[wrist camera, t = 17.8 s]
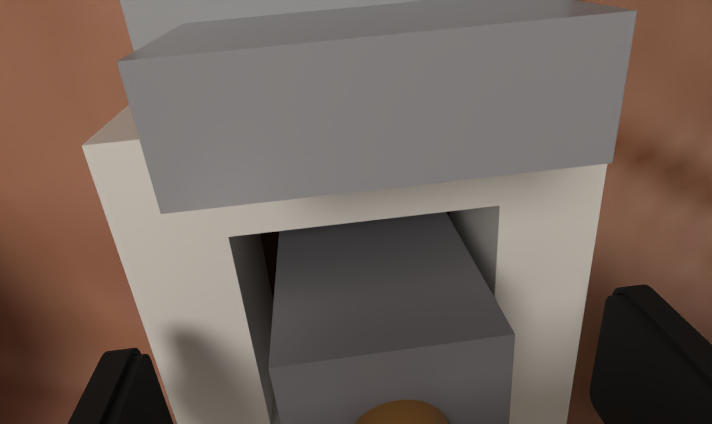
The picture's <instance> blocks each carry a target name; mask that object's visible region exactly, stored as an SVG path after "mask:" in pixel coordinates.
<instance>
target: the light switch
mask: <svg viewBox="0 0 712 424" xmlns="http://www.w3.org/2000/svg"><path fill="white" fill-rule="evenodd" d="M82 148H83V151H84V154H85V157H86V160H87V163H88V166H89V169H90V171H91V174H92V177H93V180H94V183H95V186H96V189H97V192H98V195H99V198H100V201H101V203H102V206H103V209H104V212H105V215H106V218H107V221H108V224H109V227H110V230H111V232H112V235H113V238H114V241H115V244H116V247H117V250H118V253H119V256H120V259H121V262H122V264H123V267H124V270H125V273H126V276H127V279H128V282H129V285H130V288H131V291H132V293H133V296H134V299H135V302H136V305H137V308H138V311H139V314H140V317H141V320H142V323H143V325H144V328H145V331H146V334H147V337H148V340H149V343H150V346H151V349H152V352H153V355H154V357H155V360H156V363H157V366H158V369H159V372H160V375H161V378H162V381H163V384H164V386H165V389H166V392H167V395H168V398H169V401H170V404H171V407H172V410H173V413H174V416H175V418H176V421H177V424H281V422H280V418H279V413H278V409H277V404H276V400H275V396H274V391H273V387H272V382H271V378H270V374H269V369H268V366H269V353H270V341H271V328H272V316H273V298H272V293H271V288H270V282H269V277H268V272H267V267H266V261H265V256H264V251H263V246H262V240H261V235H260V233H267V232H276V231H284V230H293V229H302V228H310V227H319V226H327V225H336V224H345V223H353V222H362V221H370V220H379V219H388V218H396V217H405V216H414V215H422V214H431V213H439V212H448V211H449V218H450V220H451V222H452V223H453V225H454V227H455V229H456V230H457V232H458V234H459V236H460V237H461V239H462V241H463V243H464V245H465V246H466V248H467V250H468V252H469V253H470V255H471V257H472V259H473V260H474V262H475V264H476V266H477V268H478V269H479V271H480V273H481V275H482V276H483V278H484V280H485V282H486V283H487V285H488V287H489V289H490V291H491V292H492V294H493V296H494V298H495V299H496V301H497V303H498V305H499V306H500V308H501V310H502V312H503V313H504V315H505V317H506V319H507V321H508V322H509V324H510V326H511V328H512V329H513V331H514V333H515V345H514V360H513V374H512V389H511V403H510V418H509V424H566V423H567V417H568V410H569V404H570V398H571V391H572V385H573V378H574V372H575V366H576V359H577V353H578V347H579V340H580V334H581V328H582V321H583V315H584V309H585V302H586V296H587V290H588V283H589V277H590V270H591V264H592V258H593V251H594V245H595V239H596V232H597V226H598V220H599V213H600V207H601V201H602V194H603V188H604V182H605V175H606V169H607V164H599V165H591V166H582V167H573V168H564V169H555V170H546V171H538V172H529V173H520V174H511V175H502V176H493V177H485V178H476V179H467V180H458V181H449V182H440V183H431V184H423V185H414V186H405V187H396V188H387V189H378V190H370V191H361V192H352V193H343V194H334V195H325V196H316V197H308V198H299V199H290V200H281V201H272V202H263V203H255V204H246V205H237V206H228V207H219V208H210V209H201V210H193V211H184V212H175V213H166V214H161V213H160V210H159V206H158V203H157V199H156V196H155V192H154V189H153V185H152V182H151V179H150V175H149V172H148V168H147V165H146V161H145V158H144V154H143V151H142V147H141V144H140V140H139V137H138V133H137V130H136V126H135V123H134V119H133V116H132V112H131V109H130V106H129V105H128V106H127V107H126V108H125V109H123V110H122V111H121V112H120V113H119V114H118V115H116V116H115V117H114V118H113V119H112V120H111V121H109V122H108V123H107V124H106V125H105V126H104V127H102V128H101V129H100V130H99V131H98V132H97V133H96V134H94V135H93V136H92V137H91V138H90V139H89V140H87V141H86V142H85V143H84V144H83V145H82Z"/></svg>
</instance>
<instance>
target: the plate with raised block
mask: <svg viewBox="0 0 712 424" xmlns="http://www.w3.org/2000/svg"><path fill="white" fill-rule="evenodd" d="M120 2H121V6H122V10H123V13H124V17H125V21H126V24H127V28H128V32H129V36H130V39H131V43H132V47H133V50H134V52H132V53H131V54H129V55H127V56H125V57H124V58H122V59H120V60H118V61H117V64H118V67H119V71H120V74H121V78H122V81H123V85H124V88H125V92H126V95H127V99H128V102H129V106H130V109H131V112H132V116H133V119H134V123H135V126H136V130H137V133H138V137H139V140H140V144H141V147H142V151H143V154H144V158H145V161H146V165H147V168H148V172H149V175H150V179H151V182H152V185H153V189H154V192H155V196H156V199H157V203H158V206H159V210H160V213H161V214H166V213H175V212H184V211H193V210H201V209H210V208H219V207H228V206H237V205H246V204H255V203H263V202H272V201H281V200H290V199H299V198H308V197H316V196H325V195H334V194H343V193H352V192H361V191H370V190H378V189H387V188H396V187H405V186H414V185H423V184H431V183H440V182H449V181H458V180H467V179H476V178H485V177H493V176H502V175H511V174H520V173H529V172H538V171H546V170H555V169H564V168H573V167H582V166H591V165H599V164H608V163H612V162H613V156H614V150H615V144H616V138H617V131H618V125H619V119H620V113H621V107H622V101H623V94H624V88H625V82H626V76H627V70H628V64H629V57H630V51H631V45H632V39H633V33H634V27H635V20H636V14H637V10H631V9H625V8H619V7H613V6H606V5H600V4H594V3H588V2H582V1H576V0H120Z"/></svg>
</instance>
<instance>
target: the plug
mask: <svg viewBox="0 0 712 424" xmlns="http://www.w3.org/2000/svg"><path fill="white" fill-rule="evenodd" d="M514 345H515V333H514V331H513V329H512V328H511V326H510V324H509V322H508V321H507V319H506V317H505V315H504V313H503V312H502V310H501V308H500V306H499V305H498V303H497V301H496V299H495V298H494V296H493V294H492V292H491V291H490V289H489V287H488V285H487V283H486V282H485V280H484V278H483V276H482V275H481V273H480V271H479V269H478V268H477V266H476V264H475V262H474V260H473V259H472V257H471V255H470V253H469V252H468V250H467V248H466V246H465V245H464V243H463V241H462V239H461V237H460V236H459V234H458V232H457V230H456V229H455V227H454V225H453V223H452V222H451V220H450V218H449V216H448V214H447V213H446V212H439V213H431V214H422V215H414V216H405V217H396V218H388V219H379V220H370V221H362V222H353V223H345V224H336V225H327V226H319V227H310V228H302V229H293V230H284V231H279V240H278V253H277V265H276V278H275V290H274V303H273V316H272V328H271V341H270V353H269V366H268V369H269V374H270V378H271V382H272V387H273V391H274V396H275V400H276V404H277V409H278V413H279V418H280V422H281V424H509V418H510V403H511V389H512V374H513V360H514Z"/></svg>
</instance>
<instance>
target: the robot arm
mask: <svg viewBox="0 0 712 424" xmlns="http://www.w3.org/2000/svg"><path fill="white" fill-rule="evenodd" d="M590 398H591V401H592V404H593V406H594V408H595V410H596V411H597V413H598V414H599V416H600V418H601V419H602V421H603V422H604V424H712V345H711V344H710V343H709V342H708V341H707V340H706V339H705V338H704V337H703V336H702V335H701V334H700V333H699V332H697V331H696V330H695V329H694V328H693V327H692V326H691V325H690V324H689V323H688V322H687V321H686V320H685V319H684V318H683V317H682V316H681V315H680V314H679V313H677V312H676V311H675V310H674V309H673V308H672V307H671V306H670V305H669V304H668V303H667V302H666V301H665V300H664V299H663V298H662V297H661V296H660V295H659V294H657V293H656V292H655V291H654V290H653V289H652V288H651V287H649V286H648V285H636V286H628V287H620V288H616V289H615V290H614V292H613V294H612V296H609V297H608V298H607V299H606V302H605V307H604V313H603V318H602V324H601V329H600V335H599V341H598V346H597V352H596V357H595V363H594V369H593V374H592V380H591V385H590ZM68 424H173V421H172V419H171V416H170V413H169V410H168V407H167V404H166V401H165V398H164V396H163V393H162V390H161V387H160V384H159V381H158V378H157V376H156V373H155V370H154V367H153V364H152V361H151V359H150V356H149V355H148V354H142V355H141V353H140V351H139V350H138V349H137V348H130V349H122V350H114V351H107V352H105V353H104V354H103V355H102V357H101V359H100V361H99V363H98V365H97V367H96V369H95V371H94V373H93V375H92V377H91V379H90V381H89V383H88V385H87V387H86V389H85V391H84V393H83V395H82V397H81V398H80V400H79V402H78V404H77V406H76V408H75V410H74V412H73V414H72V416H71V418H70V420H69V422H68Z"/></svg>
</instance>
